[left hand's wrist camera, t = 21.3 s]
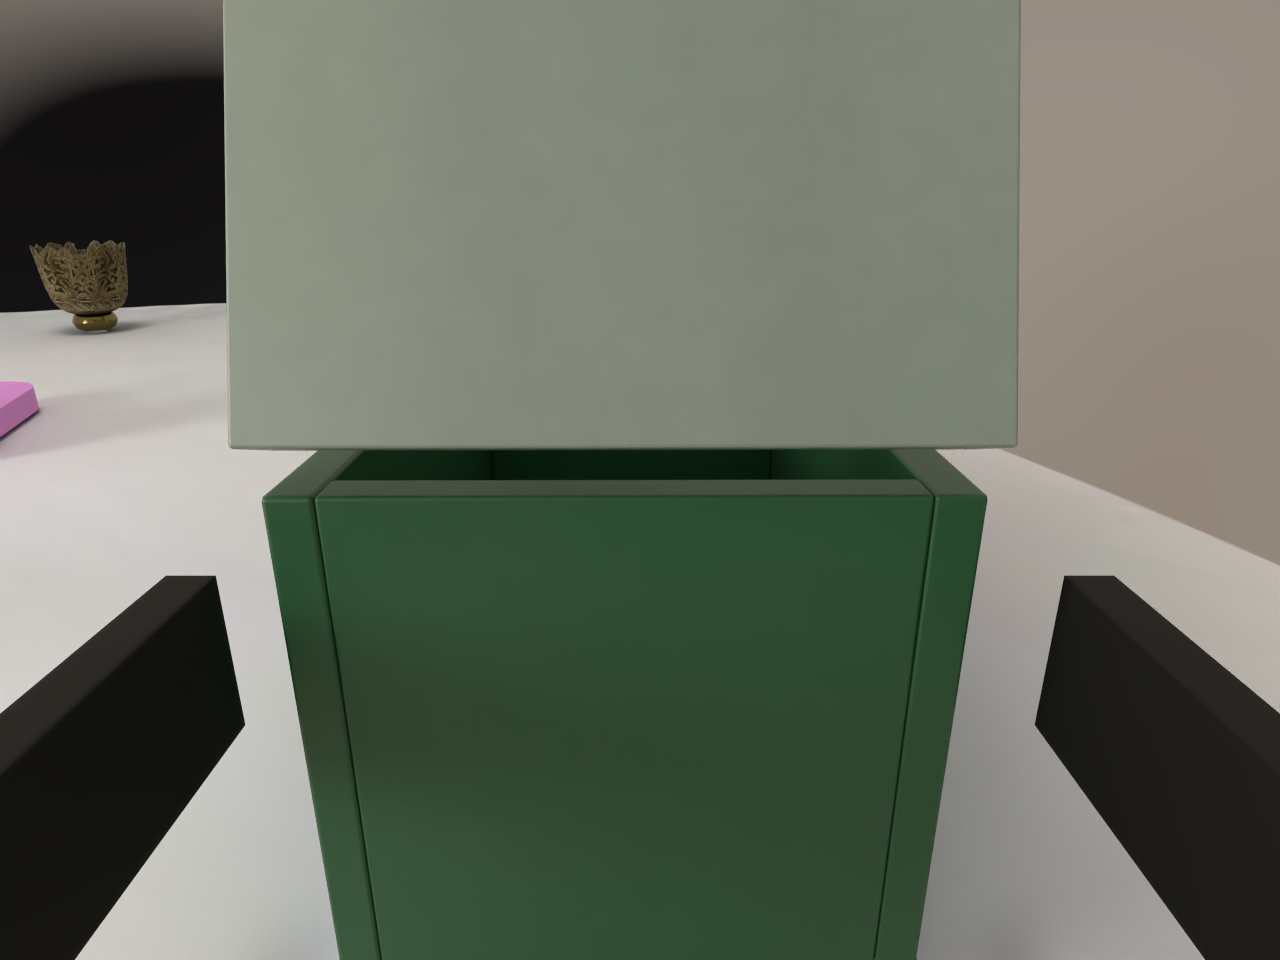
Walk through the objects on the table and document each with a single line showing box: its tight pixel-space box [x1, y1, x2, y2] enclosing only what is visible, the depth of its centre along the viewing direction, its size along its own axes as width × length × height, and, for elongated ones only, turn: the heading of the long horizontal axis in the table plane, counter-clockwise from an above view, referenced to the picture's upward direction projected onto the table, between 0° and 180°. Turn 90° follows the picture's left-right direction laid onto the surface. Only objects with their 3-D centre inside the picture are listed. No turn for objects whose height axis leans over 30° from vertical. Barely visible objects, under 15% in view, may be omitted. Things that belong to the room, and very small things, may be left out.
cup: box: [30, 240, 128, 331], centre depth 77 cm, size 8×7×8 cm
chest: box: [262, 449, 987, 960], centre depth 19 cm, size 14×10×9 cm
